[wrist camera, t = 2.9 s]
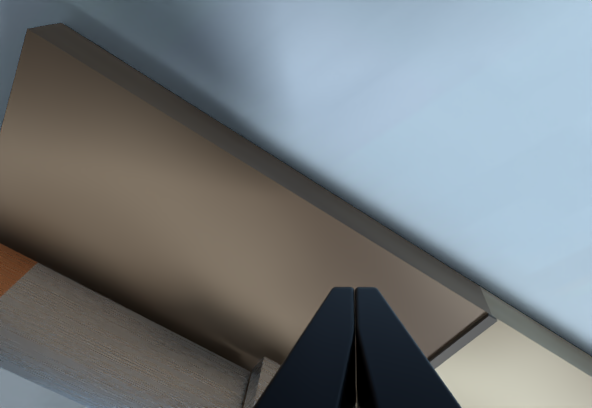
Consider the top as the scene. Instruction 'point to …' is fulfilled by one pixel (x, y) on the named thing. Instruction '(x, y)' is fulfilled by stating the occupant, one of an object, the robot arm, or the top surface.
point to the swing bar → (103, 351)
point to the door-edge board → (233, 233)
